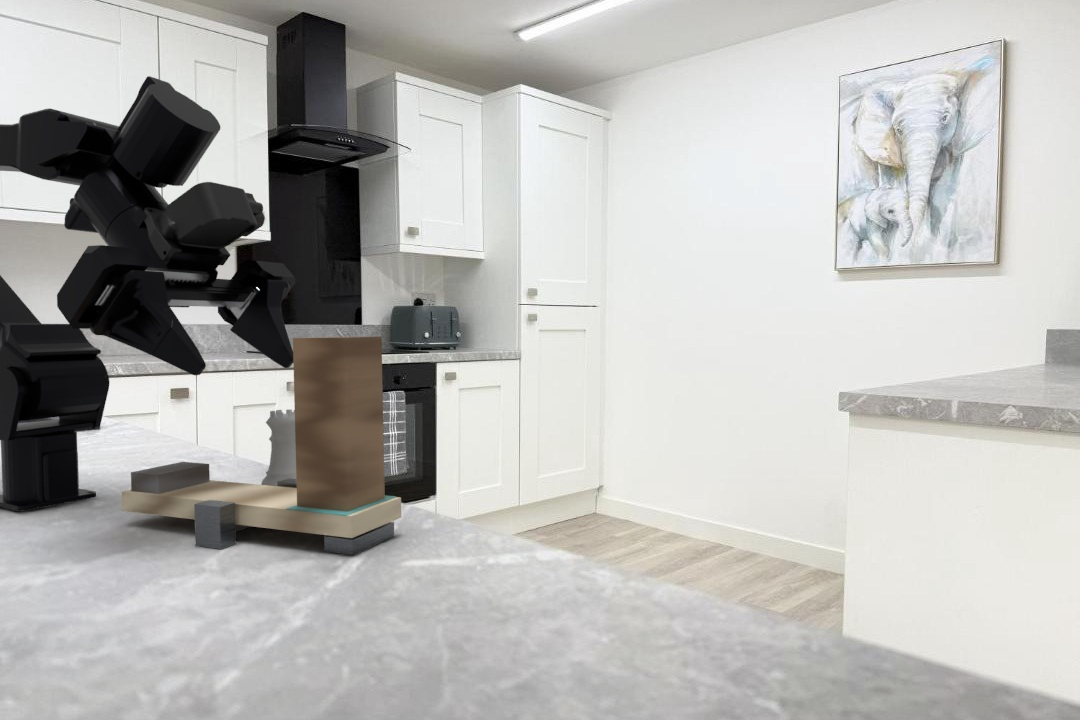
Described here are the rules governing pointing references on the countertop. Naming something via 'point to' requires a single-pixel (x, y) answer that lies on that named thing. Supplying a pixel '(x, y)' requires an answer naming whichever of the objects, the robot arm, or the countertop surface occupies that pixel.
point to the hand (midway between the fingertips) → (249, 367)
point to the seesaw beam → (247, 502)
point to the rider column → (338, 422)
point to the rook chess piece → (281, 447)
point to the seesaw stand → (220, 530)
